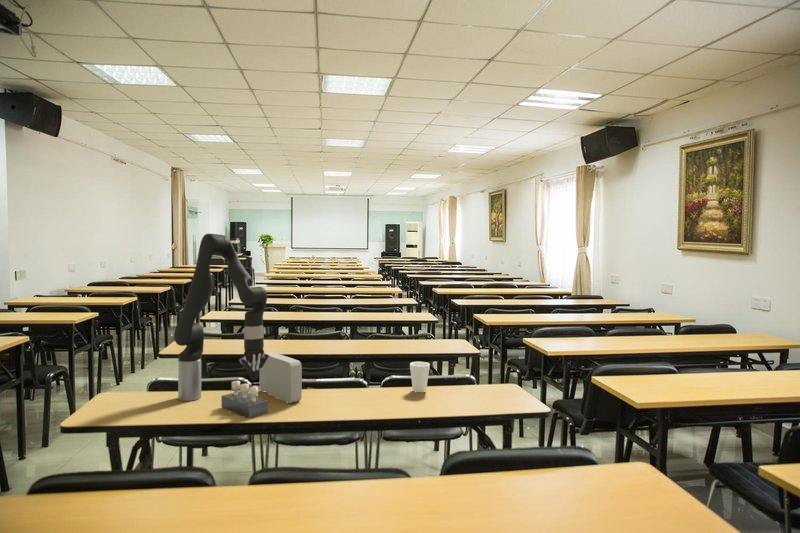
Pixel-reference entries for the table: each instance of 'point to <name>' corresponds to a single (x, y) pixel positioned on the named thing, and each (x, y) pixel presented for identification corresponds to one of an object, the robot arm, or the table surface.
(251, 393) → the knob
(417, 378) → the foam cup
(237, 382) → the knob
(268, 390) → the rounded white slab
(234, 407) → the mount
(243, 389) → the knob
